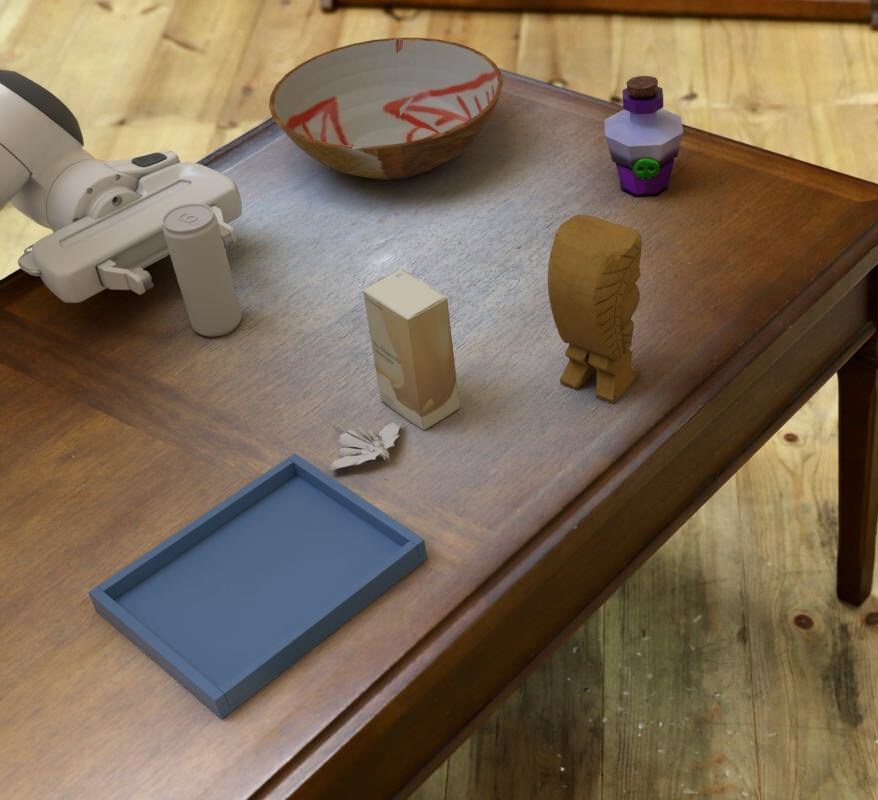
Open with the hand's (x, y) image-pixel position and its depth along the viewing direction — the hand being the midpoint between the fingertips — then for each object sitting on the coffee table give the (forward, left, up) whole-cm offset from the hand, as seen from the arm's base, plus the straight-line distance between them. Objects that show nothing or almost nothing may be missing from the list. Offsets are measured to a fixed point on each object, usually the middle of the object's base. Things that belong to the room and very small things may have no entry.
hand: (188, 261), depth 127 cm
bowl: (+32, +8, -7) cm, 34 cm away
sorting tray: (-18, -32, -7) cm, 37 cm away
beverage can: (0, -2, -7) cm, 7 cm away
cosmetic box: (+4, -26, -7) cm, 27 cm away
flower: (-3, -26, -7) cm, 27 cm away
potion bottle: (+44, -18, -7) cm, 48 cm away
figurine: (+16, -36, -7) cm, 40 cm away
